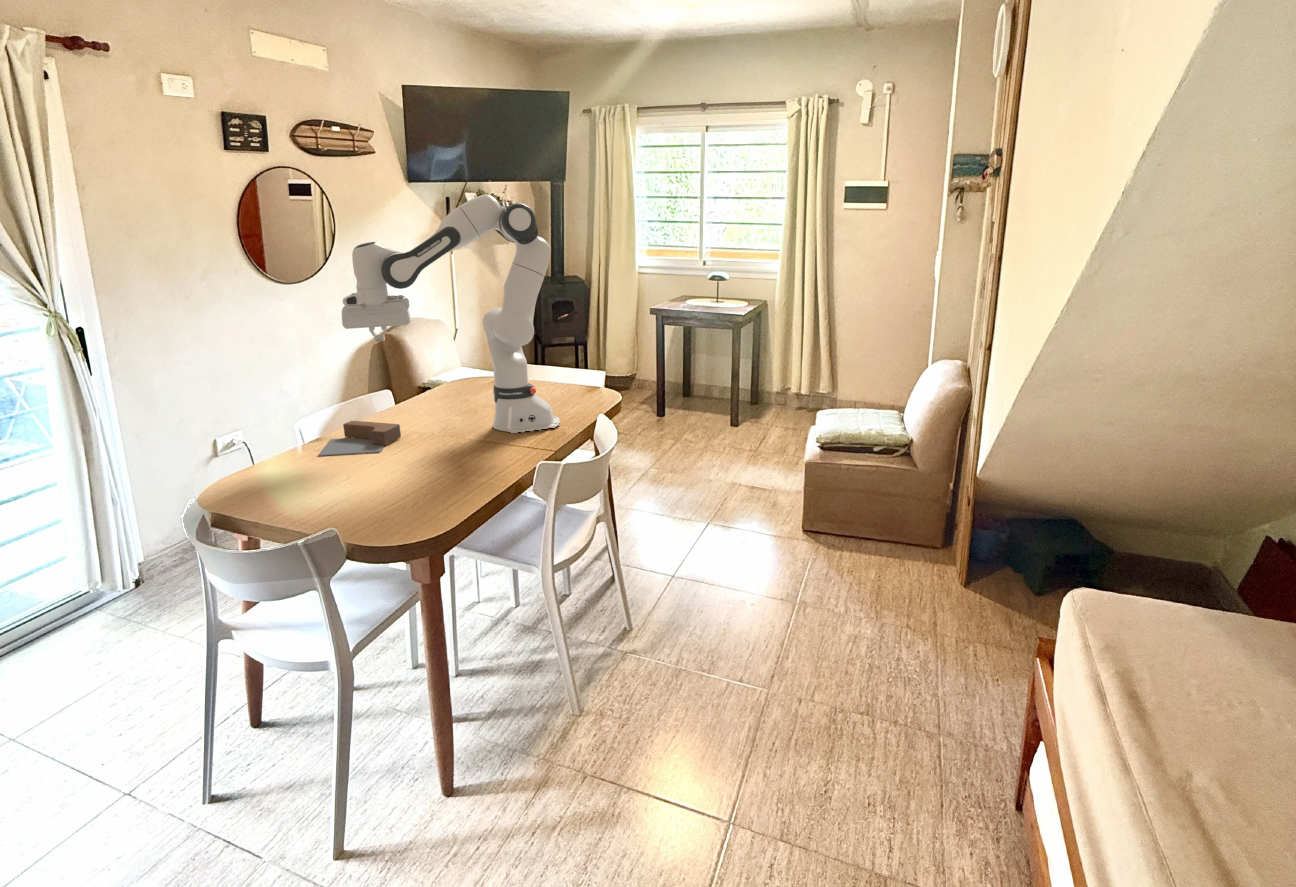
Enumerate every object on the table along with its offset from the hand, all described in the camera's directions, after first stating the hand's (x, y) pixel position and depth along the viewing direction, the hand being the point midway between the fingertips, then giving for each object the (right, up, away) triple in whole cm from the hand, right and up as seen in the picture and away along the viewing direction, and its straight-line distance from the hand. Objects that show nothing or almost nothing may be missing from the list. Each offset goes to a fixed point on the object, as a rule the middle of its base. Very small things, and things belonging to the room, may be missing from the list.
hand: (379, 340), depth 234 cm
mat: (-7, -33, -3) cm, 34 cm away
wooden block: (+4, -30, -1) cm, 30 cm away
